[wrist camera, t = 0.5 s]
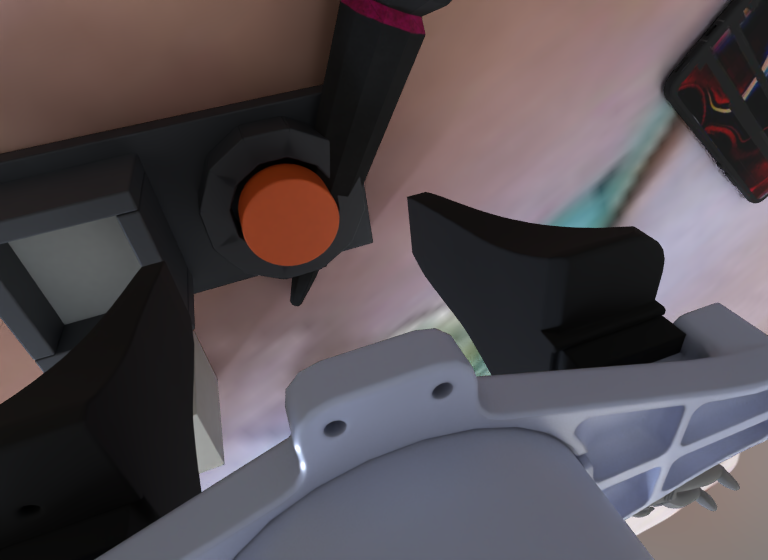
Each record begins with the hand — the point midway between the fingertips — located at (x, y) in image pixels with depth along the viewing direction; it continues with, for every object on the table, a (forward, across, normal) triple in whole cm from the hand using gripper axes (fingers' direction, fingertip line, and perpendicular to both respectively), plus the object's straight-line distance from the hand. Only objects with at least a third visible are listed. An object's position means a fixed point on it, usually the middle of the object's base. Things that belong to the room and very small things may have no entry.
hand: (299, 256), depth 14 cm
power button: (+7, 0, +2) cm, 8 cm away
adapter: (+10, +4, +2) cm, 11 cm away
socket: (+10, +8, +2) cm, 13 cm away
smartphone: (+10, -30, +4) cm, 32 cm away
